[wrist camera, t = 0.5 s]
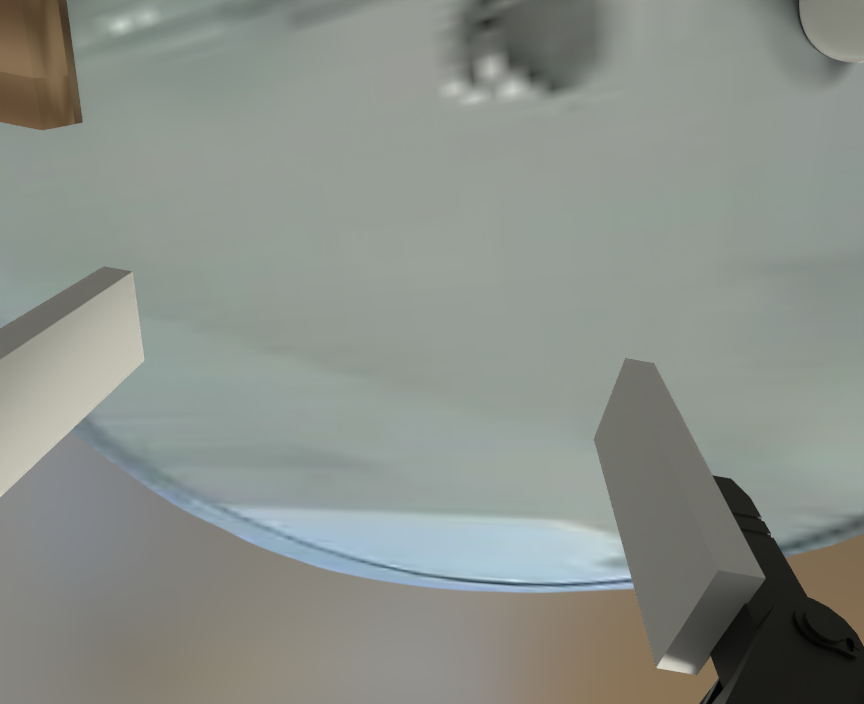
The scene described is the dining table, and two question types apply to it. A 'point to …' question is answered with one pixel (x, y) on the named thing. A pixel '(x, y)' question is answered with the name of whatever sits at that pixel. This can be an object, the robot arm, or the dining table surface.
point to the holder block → (37, 65)
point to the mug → (835, 27)
